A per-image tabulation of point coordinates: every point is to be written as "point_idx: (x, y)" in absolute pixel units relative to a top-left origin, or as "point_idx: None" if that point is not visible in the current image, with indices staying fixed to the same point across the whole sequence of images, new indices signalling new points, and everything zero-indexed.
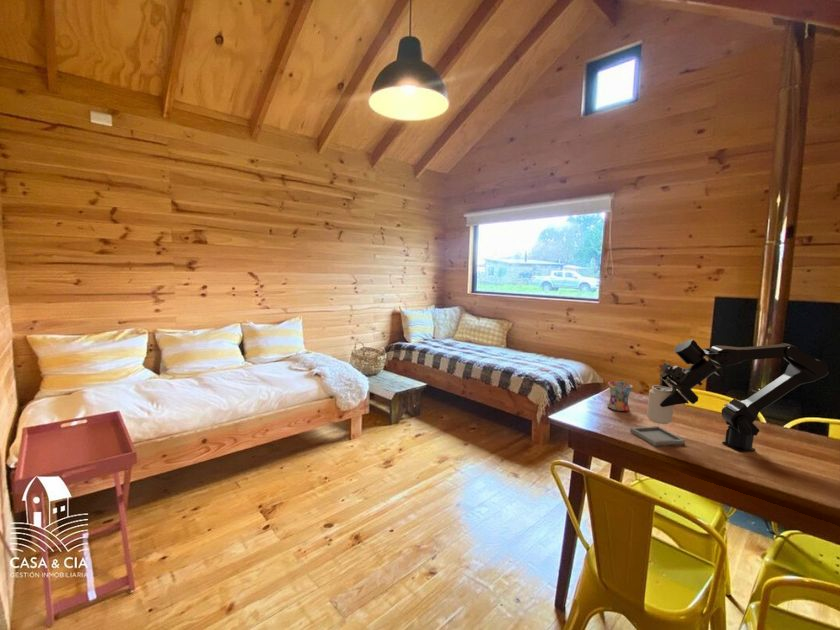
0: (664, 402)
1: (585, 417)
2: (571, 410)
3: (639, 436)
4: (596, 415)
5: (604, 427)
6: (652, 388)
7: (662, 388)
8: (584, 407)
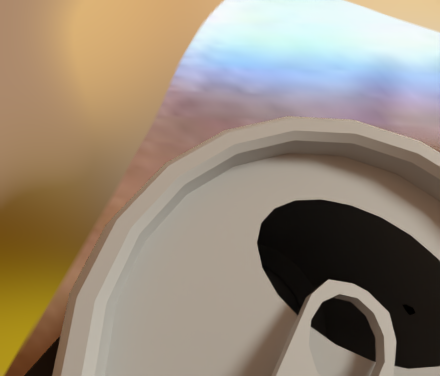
0: (55, 353)
1: (310, 50)
2: (356, 11)
3: None
4: (364, 85)
5: (237, 107)
6: (300, 140)
7: (384, 362)
8: (429, 49)
